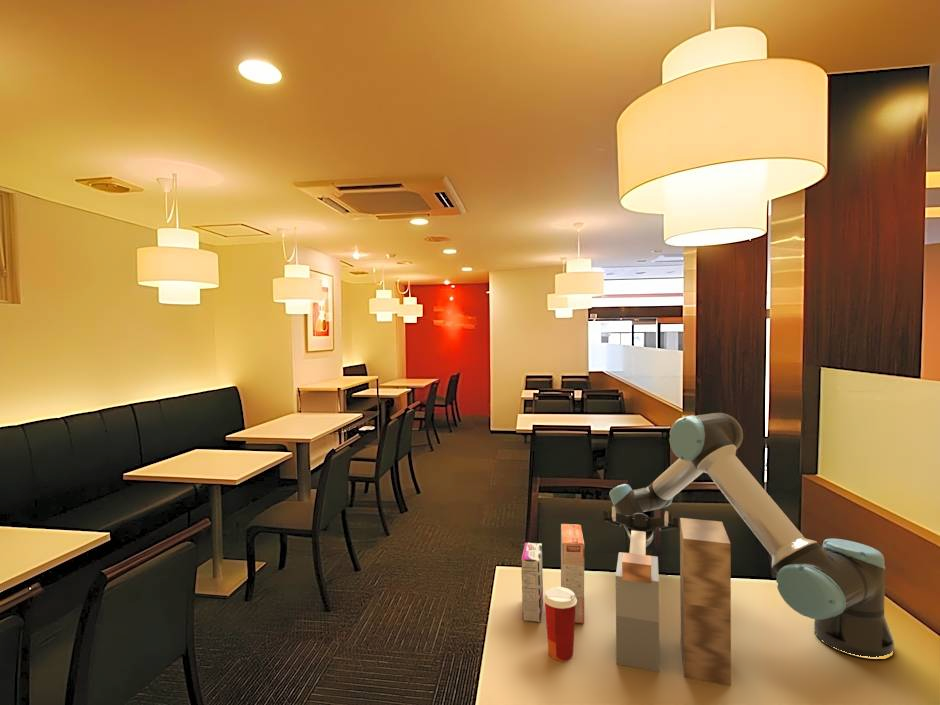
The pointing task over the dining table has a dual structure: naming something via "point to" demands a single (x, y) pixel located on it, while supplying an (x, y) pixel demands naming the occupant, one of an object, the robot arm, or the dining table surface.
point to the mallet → (637, 560)
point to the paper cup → (560, 622)
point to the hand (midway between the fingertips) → (639, 513)
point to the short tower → (637, 620)
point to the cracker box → (573, 565)
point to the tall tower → (705, 600)
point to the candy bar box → (532, 582)
